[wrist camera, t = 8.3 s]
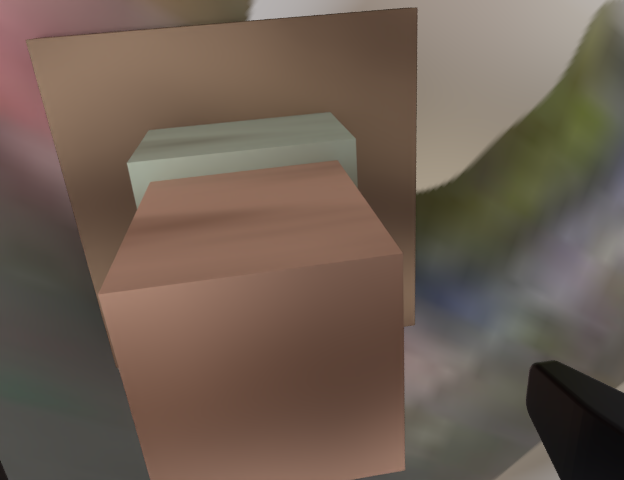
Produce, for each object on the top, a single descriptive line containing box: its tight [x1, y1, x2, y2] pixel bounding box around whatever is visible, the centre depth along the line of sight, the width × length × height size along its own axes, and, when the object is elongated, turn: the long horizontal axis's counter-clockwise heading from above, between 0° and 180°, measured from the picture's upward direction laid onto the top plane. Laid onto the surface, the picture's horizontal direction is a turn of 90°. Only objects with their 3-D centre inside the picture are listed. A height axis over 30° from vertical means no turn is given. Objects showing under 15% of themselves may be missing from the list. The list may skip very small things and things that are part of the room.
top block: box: [98, 160, 405, 480], centre depth 12 cm, size 5×5×6 cm
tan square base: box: [26, 8, 417, 368], centre depth 17 cm, size 12×12×5 cm
